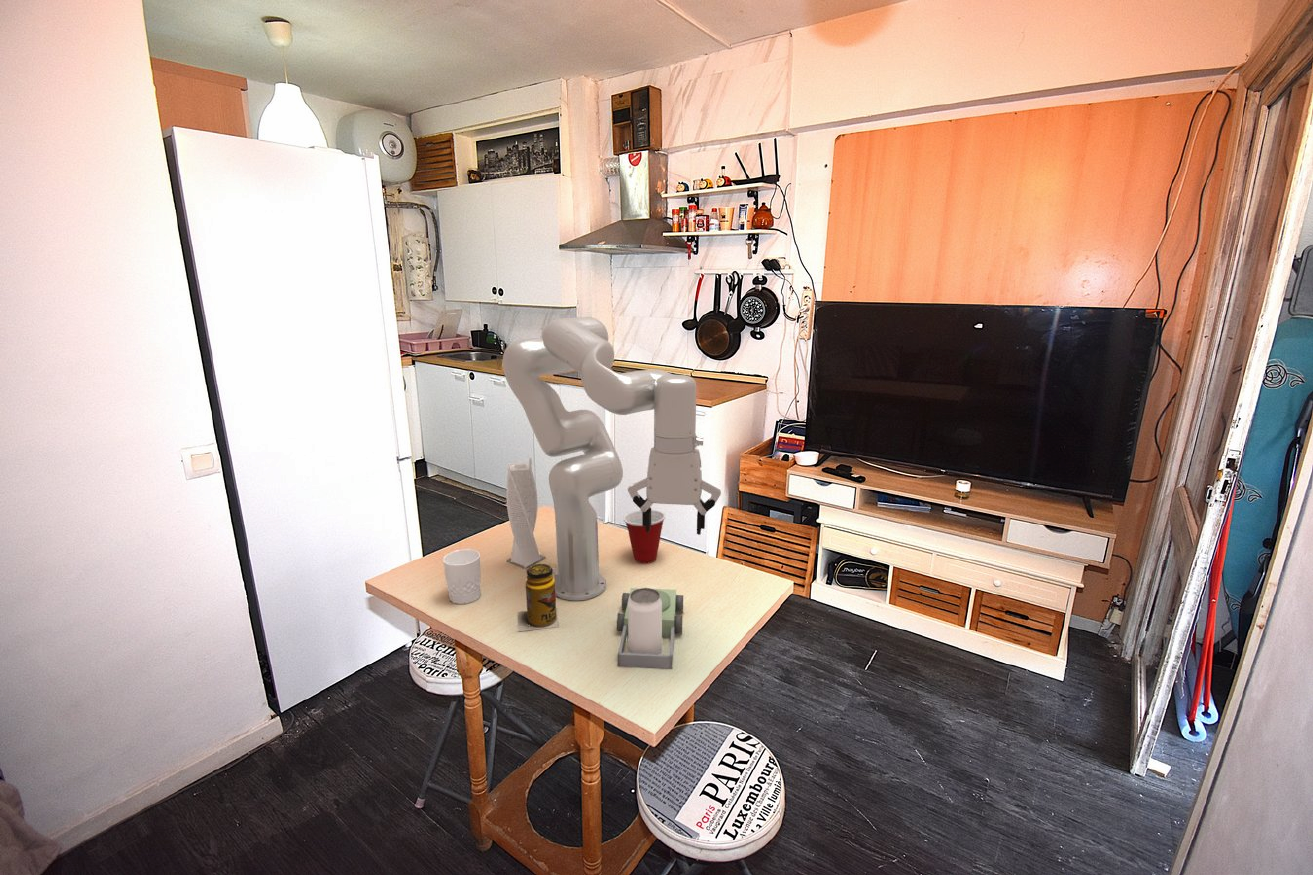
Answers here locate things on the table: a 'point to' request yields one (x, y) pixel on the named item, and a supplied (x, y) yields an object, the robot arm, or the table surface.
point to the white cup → (463, 575)
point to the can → (645, 621)
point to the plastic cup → (644, 535)
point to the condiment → (539, 600)
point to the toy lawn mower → (669, 628)
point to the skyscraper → (522, 514)
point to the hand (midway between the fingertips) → (673, 530)
